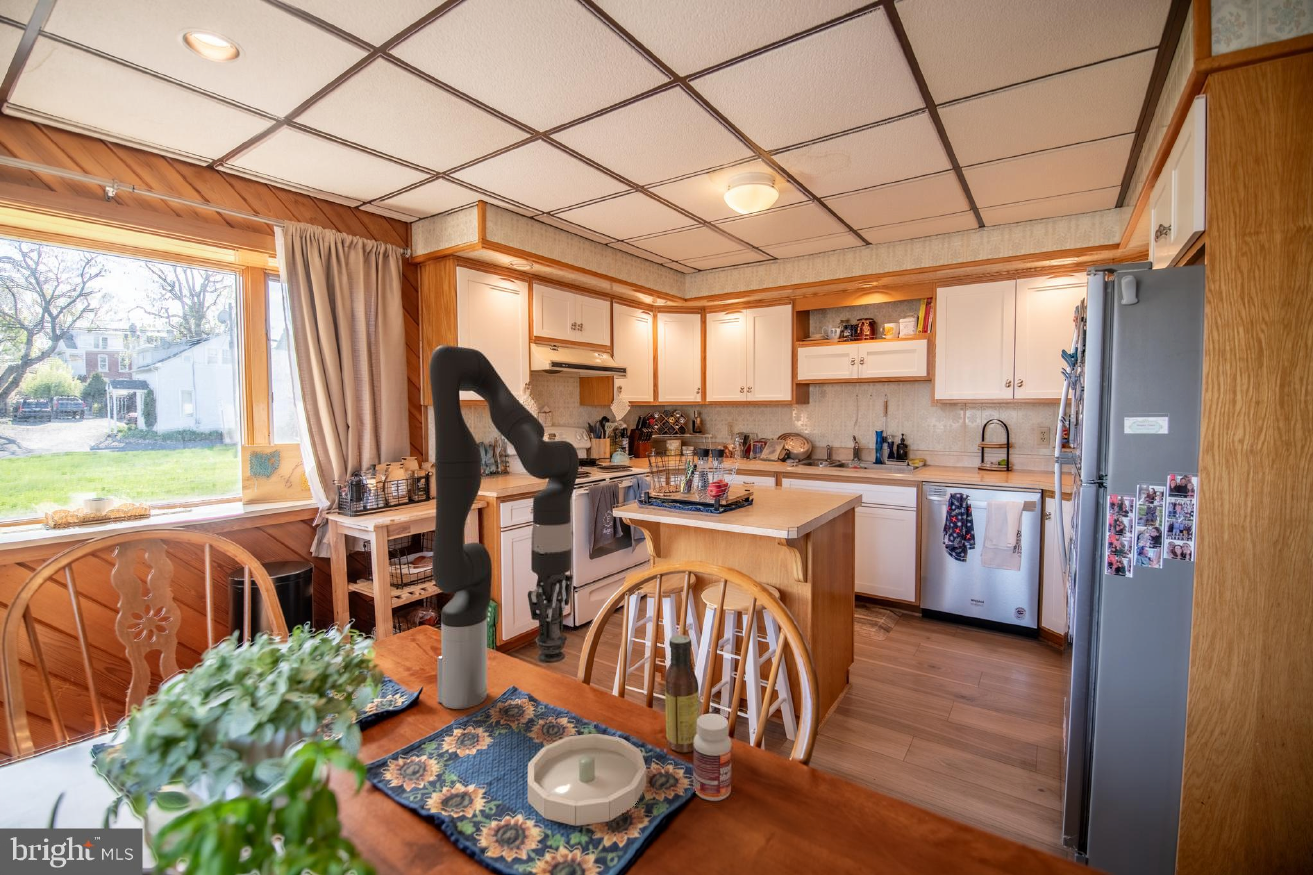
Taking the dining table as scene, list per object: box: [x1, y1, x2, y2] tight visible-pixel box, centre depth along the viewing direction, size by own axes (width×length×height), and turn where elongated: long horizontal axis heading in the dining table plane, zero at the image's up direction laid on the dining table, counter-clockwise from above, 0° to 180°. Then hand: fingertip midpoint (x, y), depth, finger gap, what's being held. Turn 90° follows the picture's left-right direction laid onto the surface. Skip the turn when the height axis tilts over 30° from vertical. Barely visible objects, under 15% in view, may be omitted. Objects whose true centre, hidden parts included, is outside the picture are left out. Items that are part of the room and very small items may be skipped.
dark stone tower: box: [535, 600, 568, 664], centre depth 109 cm, size 6×6×12 cm
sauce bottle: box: [664, 634, 700, 753], centre depth 105 cm, size 7×6×20 cm
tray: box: [527, 733, 647, 827], centre depth 94 cm, size 19×19×4 cm
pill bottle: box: [692, 713, 732, 802], centre depth 93 cm, size 6×6×11 cm
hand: (551, 634), depth 109 cm, fingers closed on dark stone tower, 4 cm apart
